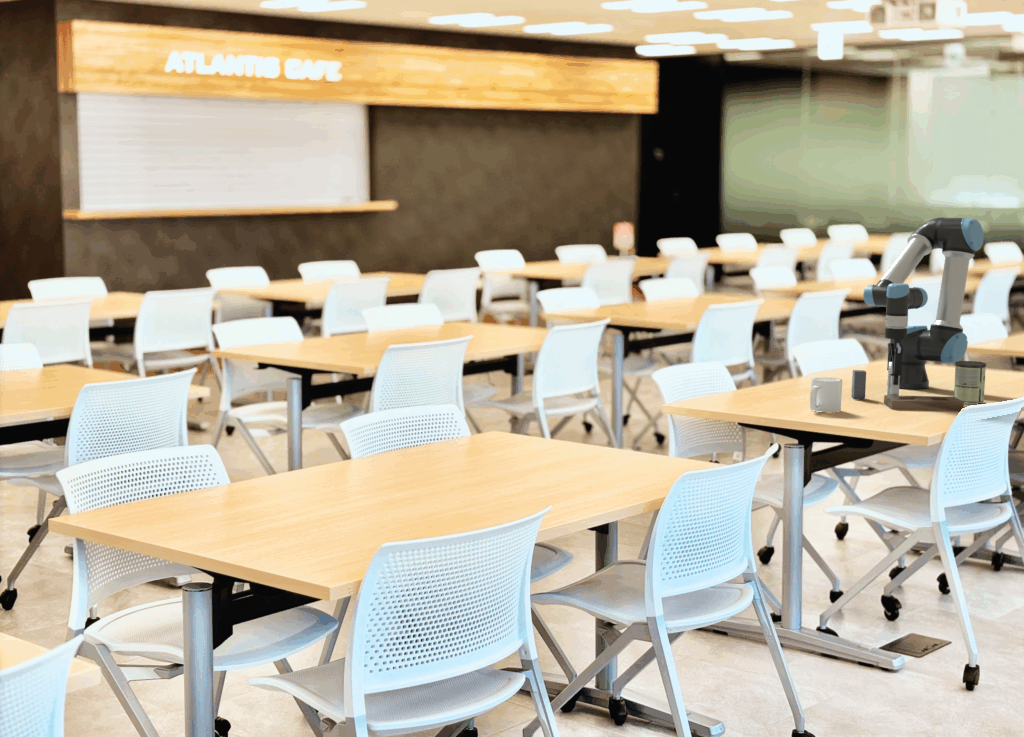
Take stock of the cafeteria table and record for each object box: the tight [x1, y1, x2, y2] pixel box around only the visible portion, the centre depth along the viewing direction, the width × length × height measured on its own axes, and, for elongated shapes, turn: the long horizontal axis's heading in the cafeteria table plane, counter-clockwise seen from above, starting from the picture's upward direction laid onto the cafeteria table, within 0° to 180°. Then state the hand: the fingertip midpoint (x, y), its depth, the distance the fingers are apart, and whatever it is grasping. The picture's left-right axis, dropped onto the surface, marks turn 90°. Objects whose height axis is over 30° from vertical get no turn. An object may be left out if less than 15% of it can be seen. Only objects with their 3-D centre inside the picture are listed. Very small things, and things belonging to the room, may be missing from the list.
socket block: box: [883, 394, 965, 412], centre depth 454 cm, size 12×24×3 cm, turn 86°
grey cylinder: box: [886, 362, 900, 396], centre depth 470 cm, size 4×4×13 cm
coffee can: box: [953, 360, 987, 405], centre depth 466 cm, size 10×10×14 cm
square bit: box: [851, 369, 867, 400], centre depth 471 cm, size 4×4×10 cm
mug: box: [809, 376, 843, 412], centre depth 443 cm, size 14×10×11 cm
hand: (893, 392), depth 470 cm, fingers closed on grey cylinder, 4 cm apart
